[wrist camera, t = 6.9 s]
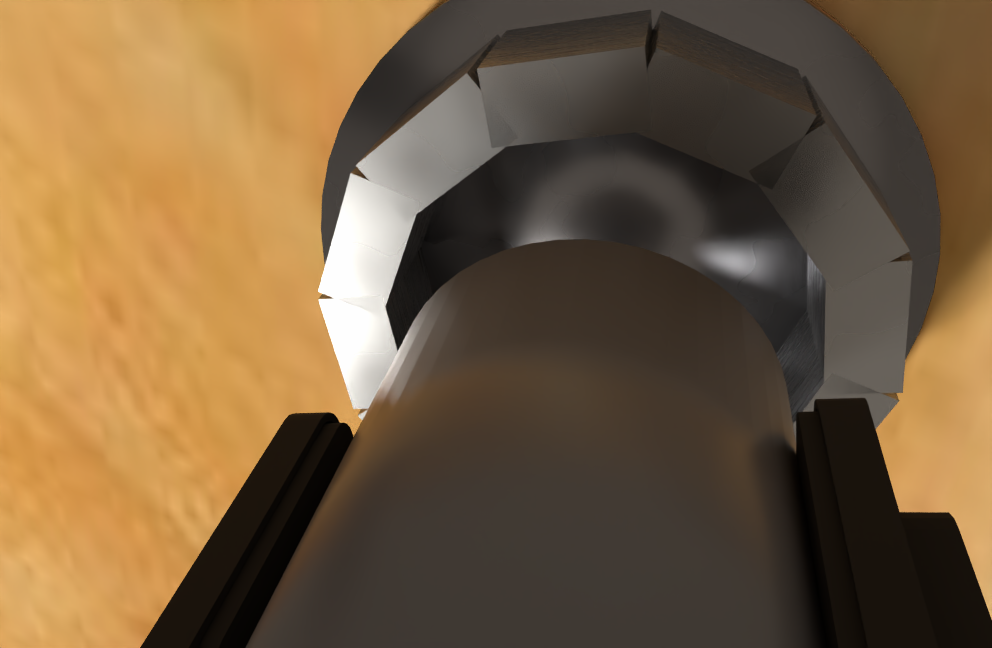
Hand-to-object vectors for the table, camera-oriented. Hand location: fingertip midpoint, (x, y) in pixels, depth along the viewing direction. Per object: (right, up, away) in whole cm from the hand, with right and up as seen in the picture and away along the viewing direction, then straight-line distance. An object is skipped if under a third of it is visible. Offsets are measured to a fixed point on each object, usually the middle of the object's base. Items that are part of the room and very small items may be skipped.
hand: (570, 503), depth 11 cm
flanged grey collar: (+1, +3, +6) cm, 7 cm away
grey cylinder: (0, +1, +1) cm, 2 cm away
